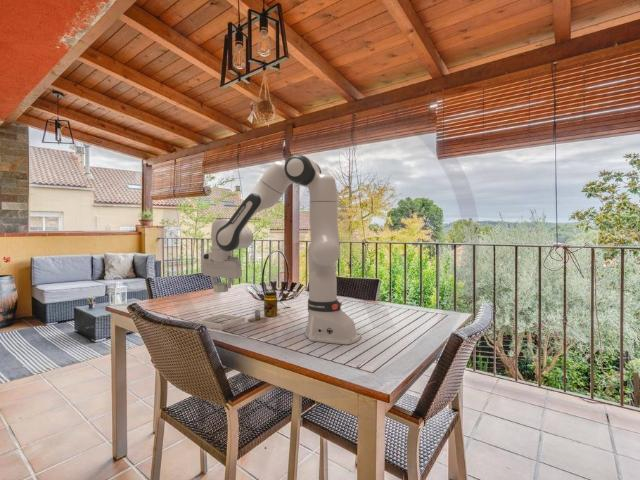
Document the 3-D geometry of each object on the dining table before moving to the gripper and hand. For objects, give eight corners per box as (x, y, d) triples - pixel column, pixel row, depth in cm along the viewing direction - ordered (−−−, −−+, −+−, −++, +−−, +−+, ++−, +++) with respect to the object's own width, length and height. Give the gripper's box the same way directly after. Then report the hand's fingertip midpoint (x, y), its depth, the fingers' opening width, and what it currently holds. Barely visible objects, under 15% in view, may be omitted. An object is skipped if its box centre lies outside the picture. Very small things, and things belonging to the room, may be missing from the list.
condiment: (264, 319, 160) (264, 294, 159) (261, 315, 168) (261, 290, 167) (279, 318, 162) (280, 293, 161) (276, 314, 170) (276, 289, 170)
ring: (231, 290, 152) (231, 283, 151) (221, 292, 146) (221, 285, 146) (221, 288, 155) (221, 282, 154) (210, 291, 149) (211, 284, 149)
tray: (244, 322, 154) (244, 317, 154) (222, 330, 142) (222, 325, 142) (221, 318, 161) (221, 313, 161) (198, 326, 148) (197, 320, 148)
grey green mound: (271, 320, 158) (271, 309, 158) (259, 325, 150) (259, 313, 150) (255, 318, 162) (255, 307, 162) (243, 322, 154) (243, 311, 154)
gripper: (245, 256, 148) (245, 288, 149) (210, 254, 158) (210, 284, 158) (235, 257, 143) (235, 290, 143) (199, 255, 152) (199, 286, 153)
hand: (221, 287), depth 151 cm, fingers closed on ring, 6 cm apart
